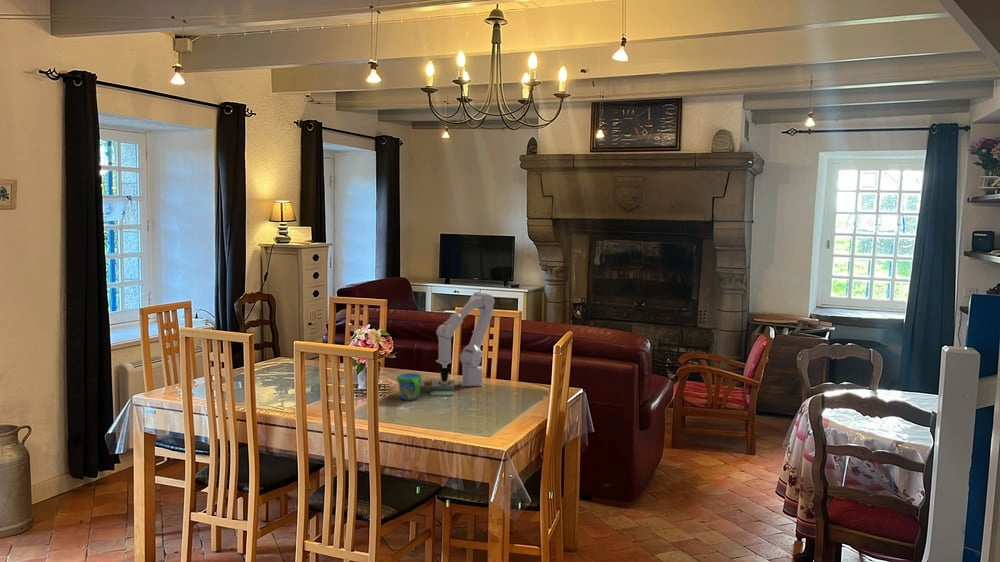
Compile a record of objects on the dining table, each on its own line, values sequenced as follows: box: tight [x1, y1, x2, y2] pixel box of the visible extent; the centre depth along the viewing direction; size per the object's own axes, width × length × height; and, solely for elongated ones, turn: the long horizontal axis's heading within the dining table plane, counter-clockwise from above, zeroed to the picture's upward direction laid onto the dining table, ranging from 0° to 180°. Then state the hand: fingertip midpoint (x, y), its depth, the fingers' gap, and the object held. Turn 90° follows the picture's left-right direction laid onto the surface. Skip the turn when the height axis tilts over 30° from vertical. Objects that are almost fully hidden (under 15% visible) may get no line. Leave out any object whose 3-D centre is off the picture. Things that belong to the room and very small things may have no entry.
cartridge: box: [439, 372, 450, 384], centre depth 338 cm, size 4×4×9 cm
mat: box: [430, 391, 454, 397], centre depth 328 cm, size 10×6×1 cm, turn 94°
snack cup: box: [396, 373, 423, 401], centre depth 318 cm, size 16×10×10 cm
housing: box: [420, 379, 455, 393], centre depth 338 cm, size 15×12×2 cm
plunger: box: [423, 379, 433, 384], centre depth 338 cm, size 4×4×3 cm
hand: (444, 380), depth 338 cm, fingers closed on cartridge, 4 cm apart
